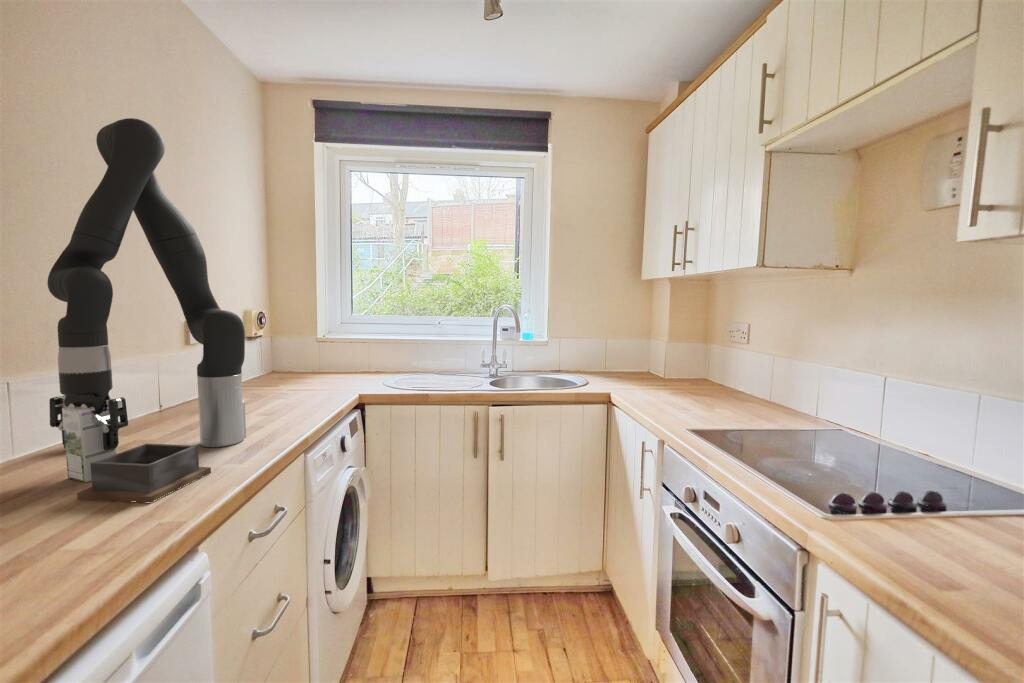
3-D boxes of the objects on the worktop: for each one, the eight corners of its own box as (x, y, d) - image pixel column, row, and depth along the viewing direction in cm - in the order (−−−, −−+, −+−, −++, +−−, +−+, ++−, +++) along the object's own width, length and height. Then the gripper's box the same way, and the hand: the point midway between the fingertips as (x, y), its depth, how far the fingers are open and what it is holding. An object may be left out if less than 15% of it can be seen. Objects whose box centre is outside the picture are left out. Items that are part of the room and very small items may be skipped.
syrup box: (119, 472, 91) (115, 403, 90) (83, 483, 85) (78, 409, 84) (101, 468, 93) (97, 400, 91) (65, 479, 87) (60, 407, 86)
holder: (147, 469, 92) (146, 441, 92) (210, 472, 91) (209, 443, 91) (77, 499, 78) (75, 465, 78) (150, 503, 77) (149, 469, 77)
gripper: (136, 367, 90) (141, 444, 92) (72, 365, 91) (77, 441, 93) (100, 372, 83) (105, 456, 84) (30, 370, 84) (37, 453, 85)
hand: (90, 448), depth 88 cm, fingers open, 8 cm apart
